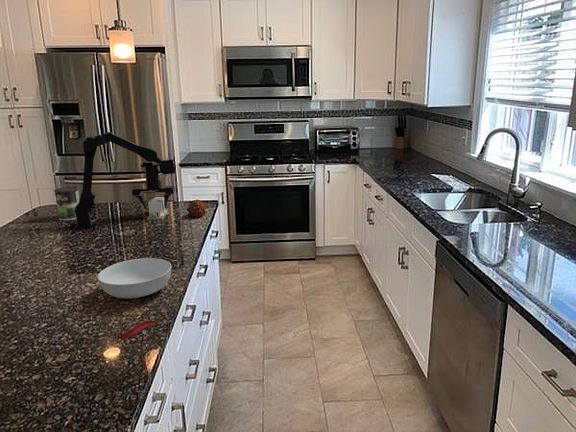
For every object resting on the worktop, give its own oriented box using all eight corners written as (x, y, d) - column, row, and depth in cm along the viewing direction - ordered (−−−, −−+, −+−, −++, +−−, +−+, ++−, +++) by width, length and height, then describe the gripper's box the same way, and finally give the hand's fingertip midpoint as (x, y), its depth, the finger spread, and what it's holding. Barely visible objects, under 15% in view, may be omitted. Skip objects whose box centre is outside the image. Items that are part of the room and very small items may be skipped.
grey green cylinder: (71, 221, 219) (67, 191, 215) (53, 219, 222) (49, 190, 218) (86, 215, 228) (82, 187, 225) (69, 214, 231) (65, 186, 227)
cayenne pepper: (116, 343, 113) (115, 336, 112) (111, 335, 116) (110, 328, 116) (164, 328, 119) (163, 321, 118) (158, 321, 123) (157, 314, 122)
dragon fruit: (198, 222, 216) (194, 220, 227) (212, 210, 217) (207, 208, 229) (186, 209, 213) (182, 207, 224) (200, 196, 215) (195, 195, 226)
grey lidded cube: (160, 216, 218) (159, 202, 216) (149, 217, 218) (148, 202, 216) (162, 213, 224) (161, 198, 222) (152, 213, 224) (150, 199, 222)
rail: (162, 219, 217) (160, 204, 215) (147, 220, 216) (145, 205, 214) (168, 210, 232) (166, 197, 230) (153, 211, 232) (152, 197, 230)
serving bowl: (147, 272, 155) (144, 253, 153) (187, 288, 142) (185, 266, 140) (86, 294, 139) (83, 273, 137) (126, 314, 126) (123, 290, 124)
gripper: (175, 171, 224) (178, 203, 228) (135, 173, 223) (139, 205, 227) (171, 176, 213) (174, 209, 217) (129, 177, 212) (133, 211, 216)
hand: (155, 208), depth 220 cm, fingers open, 9 cm apart
